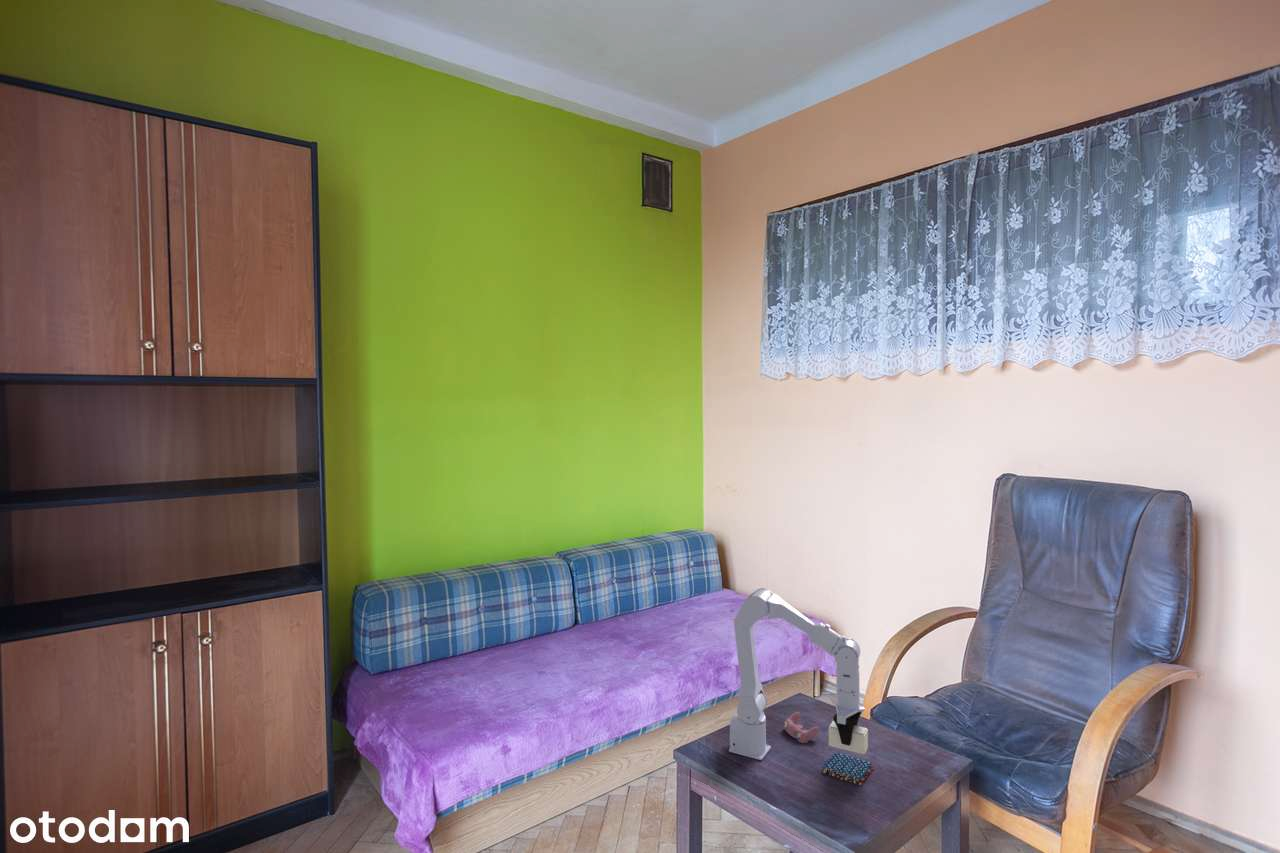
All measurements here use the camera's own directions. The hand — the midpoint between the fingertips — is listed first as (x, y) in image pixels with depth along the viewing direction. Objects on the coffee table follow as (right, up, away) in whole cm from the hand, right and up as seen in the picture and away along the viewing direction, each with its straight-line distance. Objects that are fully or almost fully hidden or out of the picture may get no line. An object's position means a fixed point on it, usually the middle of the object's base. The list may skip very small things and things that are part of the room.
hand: (848, 740), depth 172 cm
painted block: (0, -2, 0) cm, 2 cm away
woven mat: (0, -9, 0) cm, 9 cm away
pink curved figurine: (-5, -6, +20) cm, 22 cm away
